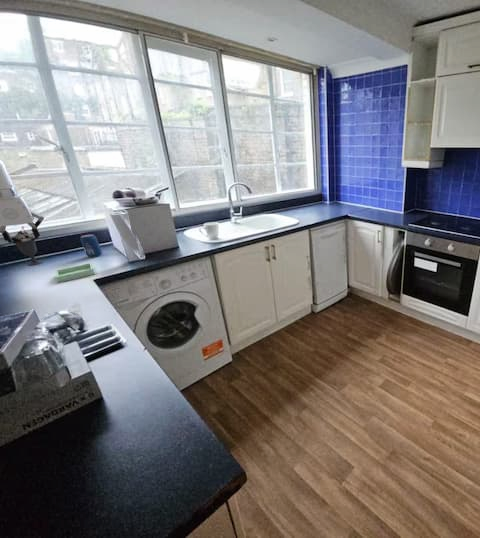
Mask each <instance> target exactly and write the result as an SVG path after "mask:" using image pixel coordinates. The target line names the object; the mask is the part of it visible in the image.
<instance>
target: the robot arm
mask: <svg viewBox="0 0 480 538" xmlns="http://www.w3.org/2000/svg"><path fill="white" fill-rule="evenodd" d="M35 218H36V219H37V221H35V222H34V220H35ZM44 219H45V216H42V215H41V214H38V213H35V212H34V211H31V209H30V207H29V205H28V204H27V202H26V201H25V200H24V198H23V197H22V195H19V193H18V192H17V190H16V187H15V185H14V183H13V181H12V178H11V177H10V174H9V172H8V170H7V168H6V166H5V163H4V162H3V160H1V159H0V234H1V236H2V238H3V239H4V241H5V242H7V243H8V244H12V241H13V240H12V237H11V235H10V233H9V232H8V231H7V230H6V228H7V227H9V226H17V225H25V224H27V225H28V227H29V226H30V228H31V232H32V234H33V237H34V238H36V239H35V240H38V239H39V238H40V237H41V234H40V232H39V230H38V227H39V226H40V225H41V224H42V222H43V221H44Z"/></svg>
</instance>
